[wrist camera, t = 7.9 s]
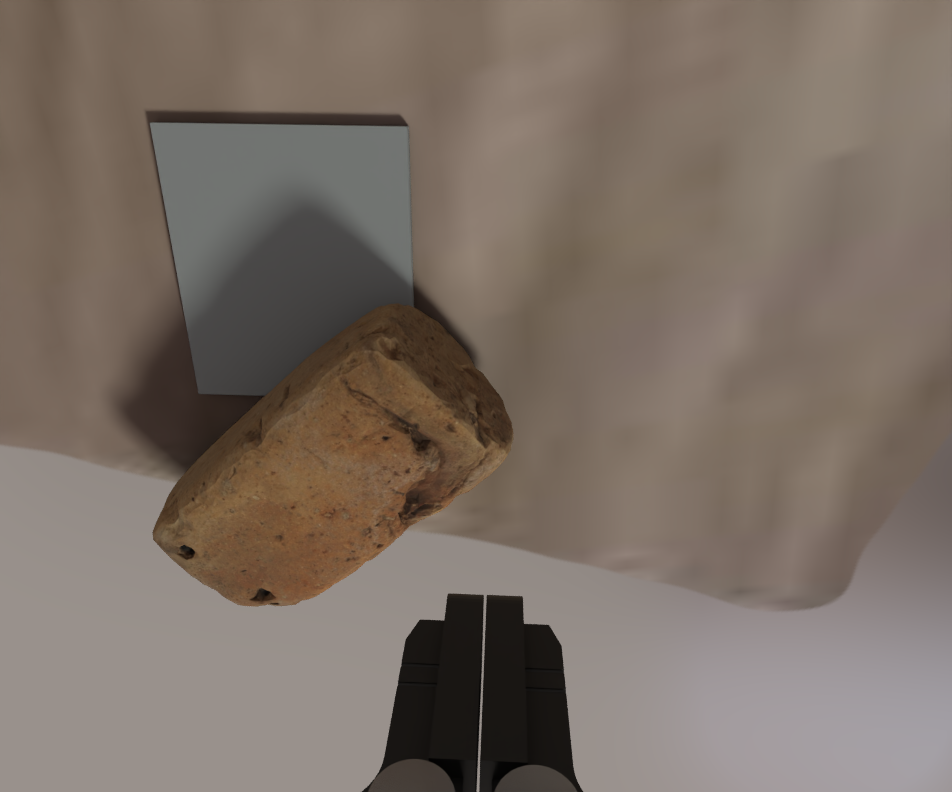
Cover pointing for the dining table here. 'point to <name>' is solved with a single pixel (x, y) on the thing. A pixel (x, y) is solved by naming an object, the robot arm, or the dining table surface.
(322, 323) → the mat
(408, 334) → the brown rounded piece
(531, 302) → the dining table surface
